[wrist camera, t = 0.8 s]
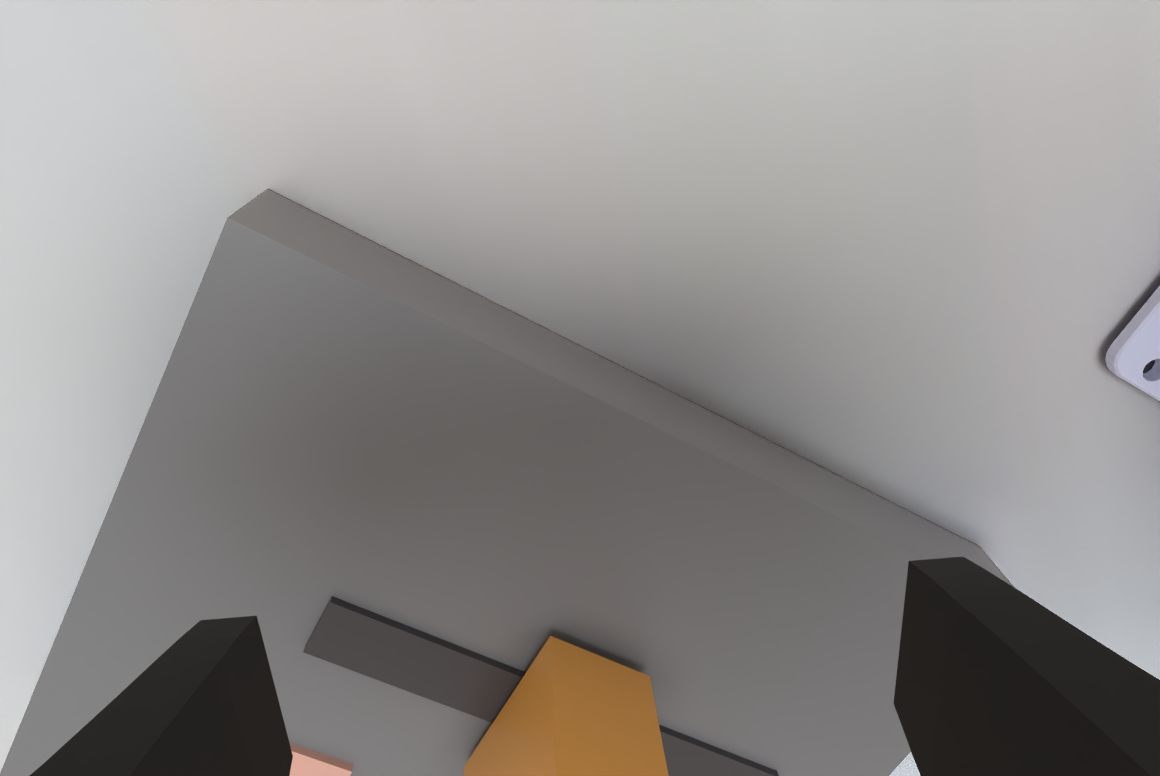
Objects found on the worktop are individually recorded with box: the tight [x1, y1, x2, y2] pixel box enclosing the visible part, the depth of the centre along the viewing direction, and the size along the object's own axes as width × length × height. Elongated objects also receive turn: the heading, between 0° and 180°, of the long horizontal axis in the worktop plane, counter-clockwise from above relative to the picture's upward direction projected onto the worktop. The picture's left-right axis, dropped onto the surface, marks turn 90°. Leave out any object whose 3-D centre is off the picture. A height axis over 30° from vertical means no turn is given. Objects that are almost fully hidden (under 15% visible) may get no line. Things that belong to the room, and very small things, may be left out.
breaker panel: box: [0, 189, 1013, 776], centre depth 20 cm, size 18×14×3 cm
